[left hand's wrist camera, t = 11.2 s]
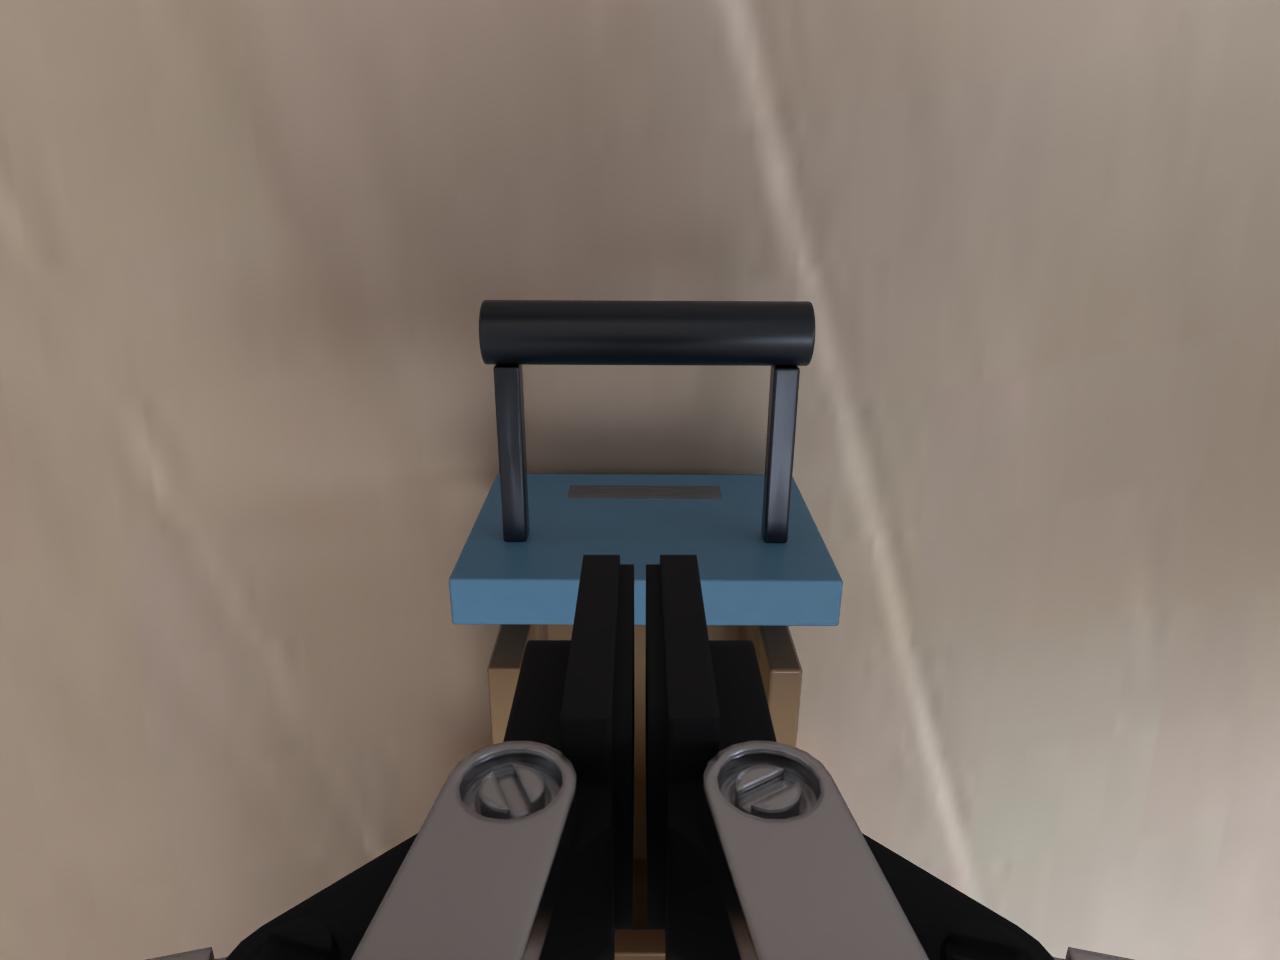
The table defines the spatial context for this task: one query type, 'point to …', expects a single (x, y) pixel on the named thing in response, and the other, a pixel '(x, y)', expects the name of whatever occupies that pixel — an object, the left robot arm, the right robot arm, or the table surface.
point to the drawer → (647, 506)
